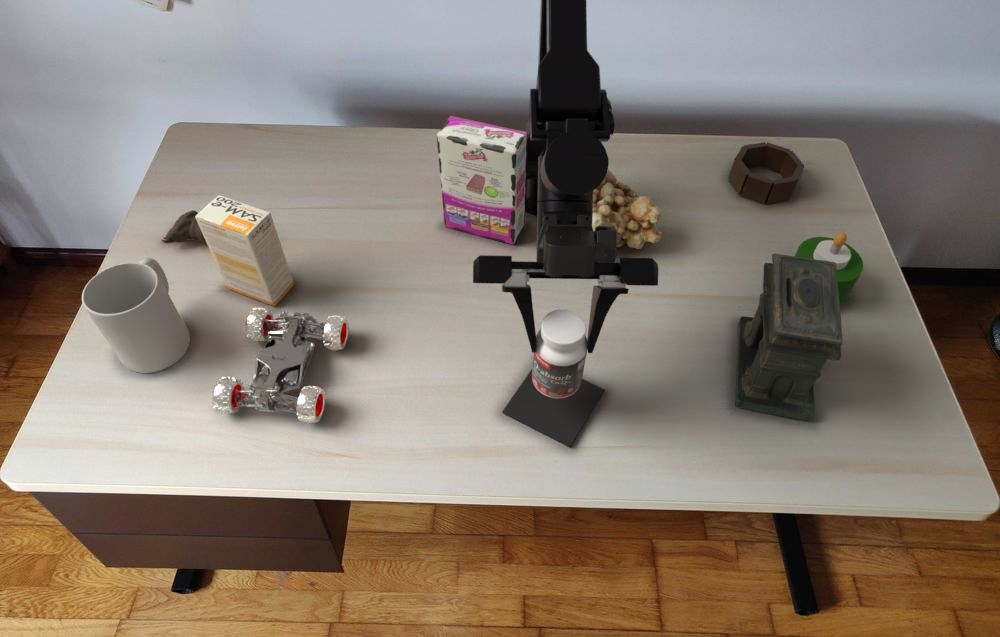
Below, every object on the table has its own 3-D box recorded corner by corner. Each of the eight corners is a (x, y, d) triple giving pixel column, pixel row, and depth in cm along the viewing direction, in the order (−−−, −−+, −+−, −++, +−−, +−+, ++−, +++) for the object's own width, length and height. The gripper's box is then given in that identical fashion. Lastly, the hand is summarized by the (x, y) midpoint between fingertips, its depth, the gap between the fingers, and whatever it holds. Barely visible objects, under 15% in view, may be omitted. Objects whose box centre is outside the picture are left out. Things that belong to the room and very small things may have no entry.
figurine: (162, 252, 100) (238, 258, 98) (147, 230, 96) (226, 235, 94) (181, 221, 104) (256, 226, 102) (168, 198, 100) (244, 203, 98)
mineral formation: (575, 270, 97) (545, 196, 105) (660, 264, 101) (624, 193, 109) (592, 229, 91) (558, 154, 99) (682, 224, 95) (641, 153, 103)
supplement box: (296, 284, 95) (273, 211, 85) (274, 308, 92) (248, 236, 82) (247, 265, 97) (219, 192, 87) (224, 288, 94) (192, 215, 84)
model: (733, 322, 91) (768, 239, 80) (805, 334, 90) (851, 251, 79) (734, 410, 83) (773, 331, 71) (814, 424, 81) (866, 345, 70)
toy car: (318, 431, 80) (309, 407, 76) (218, 419, 81) (204, 395, 77) (352, 330, 90) (345, 304, 86) (262, 321, 91) (251, 295, 87)
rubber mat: (502, 413, 82) (502, 411, 82) (538, 360, 87) (539, 358, 87) (570, 448, 79) (570, 446, 79) (604, 391, 84) (604, 389, 84)
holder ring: (721, 189, 108) (728, 169, 105) (741, 156, 114) (748, 135, 111) (783, 211, 105) (792, 191, 102) (801, 176, 111) (810, 155, 108)
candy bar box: (525, 224, 103) (529, 130, 90) (514, 246, 100) (516, 153, 87) (455, 206, 105) (450, 112, 93) (442, 227, 103) (434, 134, 90)
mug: (178, 374, 85) (144, 317, 77) (109, 373, 85) (67, 315, 77) (207, 301, 93) (178, 241, 85) (143, 300, 93) (108, 240, 85)
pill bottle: (524, 391, 79) (528, 338, 71) (540, 353, 82) (545, 298, 74) (573, 406, 78) (582, 354, 70) (587, 367, 81) (597, 313, 73)
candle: (771, 282, 96) (795, 228, 88) (808, 256, 99) (835, 202, 91) (822, 319, 92) (852, 266, 84) (859, 291, 95) (891, 237, 87)
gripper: (471, 196, 64) (469, 364, 66) (674, 198, 64) (668, 366, 65) (475, 203, 75) (474, 347, 77) (649, 205, 75) (644, 349, 77)
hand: (561, 352), depth 74 cm, fingers closed on pill bottle, 5 cm apart
